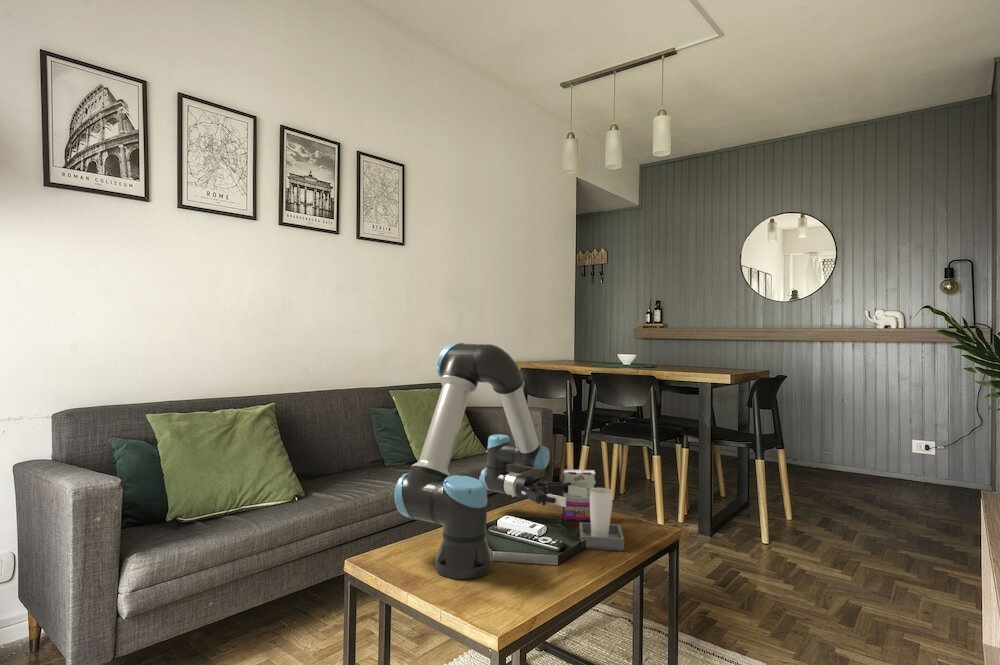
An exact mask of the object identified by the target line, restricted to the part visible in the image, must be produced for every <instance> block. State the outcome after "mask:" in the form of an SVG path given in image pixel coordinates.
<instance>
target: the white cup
mask: <svg viewBox="0 0 1000 665" xmlns="http://www.w3.org/2000/svg"><path fill="white" fill-rule="evenodd" d="M612 509H613V490H611V489H609V488H607V487H596V488H592V489H591V490H590V521H589V523H591V536H594V537H609V527H610V523H611V517H612Z"/></svg>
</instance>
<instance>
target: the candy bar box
mask: <svg viewBox="0 0 1000 665" xmlns="http://www.w3.org/2000/svg"><path fill="white" fill-rule="evenodd" d="M596 480H597V473H596V470H595V469H593V470H592V469H570V468H569V469H567V468H565V469H563V471H562V483H568V482H570V483H571V486H576V487H581V488H586V489H587V497H586V498H585V497H581V496H576V495H571V494H568V493H562V497H566V507H562V520H563V519H564V521H579V522H580V521H581V522H582V521H583V522H584V521H585V522H590V490H591V489H592V488H597V487H596V483H597V481H596Z"/></svg>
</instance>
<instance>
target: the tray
mask: <svg viewBox="0 0 1000 665" xmlns="http://www.w3.org/2000/svg"><path fill="white" fill-rule="evenodd" d="M578 525H579V528H578V531H579V530H580V536H579V538H580V537H581V540H585V541H586V549H585V550H597V551H598V550H599V551H600V550H601V551H612V550H618V551H617V552H625V537H624V534H623V530H622V528H621V524H615V523H614V524H613V523H611V524H610V527H609V537H594V536H591V522H582V521H581V522H580V521H579V524H578ZM583 532H584V533H585V534H586V535H588V536H583Z"/></svg>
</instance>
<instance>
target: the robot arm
mask: <svg viewBox="0 0 1000 665" xmlns="http://www.w3.org/2000/svg"><path fill="white" fill-rule="evenodd" d="M436 366H437V368H436V371H437V375H438V376H439V382H440V384H441V386H442V387H441V390H440V393H439V397H438V400H437V401H436V406H435V409H434V412H433V415H432V418H431V422H430V425H429V428H428V431H427V435H426V438H425V441H424V444H423V445H422V449H421V450H422V451H421V453H420V456H419V460H418V461H417V462H415V463H414V464H412V465H411V467H410V468H409V469H410V470H409V473H404V474H403V475H401V477H399V479H398V480H397V482H396V485H395V488H394V502H395V506H396V509H397V511H398V512H399V514H400V515H402V516H404V517H406V518H410V519H411V520H412V519H413V520H415V521H417V520H418V521H424V522H426V523H427V522H428V523H431V524H437V525H441V526H442V539H441V542H440V545H439V548H438V551H437V554H436V557H435V564H434V565H435V566H434V568H435V571H436V573H438V574H439V575H442V576H443V577H446V578H449V579H455V580H456V579H457V580H471V579H478V578H482V577H484V576H486V575H488V574H490V572H491V571H492V569H493V558H492V554H491V551H490V550H491V549H490V548H489V545H488V541H487V520H488V519H487V511H488V492H487V491H490V492H494V493H500V494H503V495H507V496H508V495H510V496H511V498H515V497H518V498H522V499H526V500H530V501H532V502H534V503H536V504H538V505H542V506H546V505H547V504H550V505H553V506H558V507H562V508H563V507H566V497H563V496H561V495H555V494H556V493H557V494H558V493H561V494H563V493H568V494H571V495H576V496H581V497H585V498H586V497H587V489H586V488H581V487H576V486H571V483H570V482H568V483H563V482H559V481H557V482H556V481H546V480H542V481H537V482H536V480H535V478H534V476H532V475H527V474H522V473H518V472H513V471H509V468H510V465H511V466H516V467H517V466H518V467H522V468H528V469H529V468H530V469H533V470H534V469H537V470H545V469H546V468H547V467H548V465H549V463H550V460H551V458H550V457H551V455H550V454H551V453H550V449H549V448H548V447H546V446H544V445H540V442H539V440H538V437H537V436H538V435H537V433H536V430H535V426H534V423H533V419H532V416H531V413H530V409H529V405H528V403H527V399H526V395H525V392H524V389H523V385H524V378H523V374H522V371H521V370H520V368H519V366H518V364H517V363H516V361H515V359H513V357H511V355H510V354H509V353H508V352H507V351H505V350H504V349H502V348H501V347H500V346H497V345H494V344H490V343H487V344H483V343H482V344H479V343H463V342H458V343H449V344H448V345H446V346H444V348H443V349H441V352H440V353H439V355H438V357H437V361H436ZM479 383H488V384H490V385H491V386H492V389H493V391H494V393H496V394H498V397H499V399H500V403H501V404H502V407H503V408H502V409H503V410H504V414H505V417H506V420H507V423H508V425H509V428H510V432H511V434H512V438H513V440H514V441H513V442H511V440H510V436H509V435H506V434H492V435H490V436H488V439H487V458H486V459H487V461H486V462H487V463H486V464H487V465H486V467H484V468H483V469H482V470H481V472H480V475H479V478H475V477H471V476H469V475H458V474H457V475H456V474H455V475H451V474H450V472H449V471H448V469H449V466H450V463H451V459H452V455H453V452H454V447H455V445H456V443H457V442H456V441H457V438H458V435H459V431H460V428H461V424H462V422H463V418H464V415H465V412H466V408H467V405H468V400H469V398H470V397H469V396H470V394H472V393H474V392H476V391H477V388H478V384H479ZM552 493H553V494H552ZM554 493H555V494H554Z"/></svg>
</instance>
